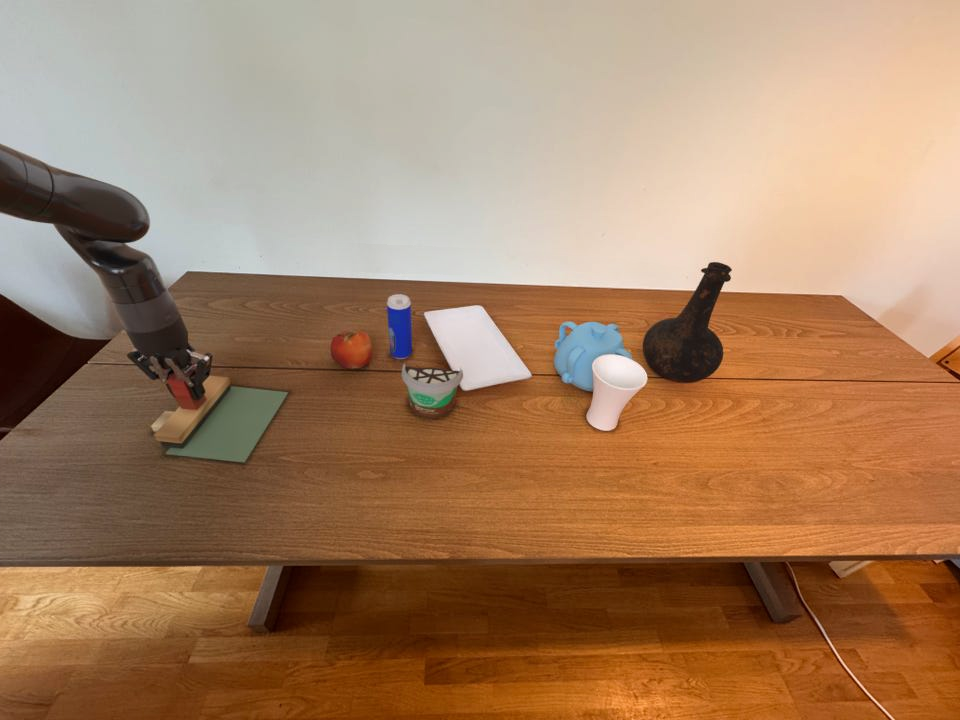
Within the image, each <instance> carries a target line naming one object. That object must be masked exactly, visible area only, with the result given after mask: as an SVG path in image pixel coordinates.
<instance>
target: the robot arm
mask: <svg viewBox="0 0 960 720" xmlns="http://www.w3.org/2000/svg"><path fill="white" fill-rule="evenodd" d="M0 214H2V215H4V216H5V215H6V216H10V217H13V218H16V219H20V220H23V221H27V222H35V223H41V224H51V225H53V227H54V228H55V230H56V231H57V232H58V234H59V235H60V236H61V237H62V239H63V241H65V243H67V244H68V246H69V247H70V248H71V249H72V250H73V251H74V252H75V253H76V254H77V255H78V256H79V257H80V258H81V260H82V261H83V262H84V263H85V264H87V266H88V267H89V268H90V269H91V270H92V271H93V272H94V273H95V274H96V275H97V277H98V278H99V280H100V283H101V285H102V286H103V288H104V290H105V292H106V294H107V295H108V297H109V299H110V301H111V303H112V307H113V309H114V312H115V314H116V316H117V318H118V320H119V322H120V323H121V325H122V327H123V329H124V331H125V332H126V333H125V334H127V336H128V338H129V340H130V342H131V344H132V345H133V347H134V348H133V349H132V350H131V351H129V352H128V353H127V354H126V357H127V358H128V359H129V360H130V361H131V362H132V363H133V364H134V365H135V366H136V367H137V368H138V369H139V370H140V371H142V373H144V374H145V375H146V376H147V377H148V378H149V379H150V380H152V381H156V380H159V381H160V382H161V383H162V384H164V385H165V386H166V388H167V390H168V392H169V393H170V394H171V396H172V397H173V398H174V399H176V397H175V395H174V394H173V392H172V390H171V388H170V386H169V384H168V382H167V380H168V379H169V378H170V377H171V376H172V375H173V374H174V373H176V375H177V376H178V377H182V379H183V380H184V381H185V383H186V384H187V385H188V386H187V387H188V389H189V391H190V393H191V395H192V397H193V399H194V400H200V399H201V398H202V396H203V395H204V394H205V392H206V391H205V389H204V386H203V382H204V381H205V380H206V379H207V378H208V377H209V376H210V375H211V370H212V363H213V354H211V353H210V352H205V353H204V354H201V353H199V352H197V351H196V350H195V348H194V347H193V345H191V344H190V343H189V331H188V328H187V327H186V325H185V322H184V320H183V318H182V315H181V313H180V311H179V309H178V306H177V304H176V301H175V299H174V298H173V296H172V294H171V292H169V290H168V288H167V285H166V284H165V282H164V279H163V277H162V274H161V272H160V271H159V268H158V266H157V264H156V262H155V260H154V258H153V257H152V256H151V255H150V254H148V253H146V252H145V251H142V250H139V249H137V248H134V247H132V246H130V245H128V244H132V243H134V242H135V243H136V242H137V241H139V240H141V239H142V238H143V237H145V236H146V235H147V233H148V232H149V230H150V227H151V218H150V214H149V212H148V209H147V207H146V206H145V204H144V203H143V202H142V201H141V200H140V199H139V198H138V197H137V196H135V195H134V194H133V193H131V192H129V191H128V190H126V189H124V188H122V187H119V186H116V185H114V184H111V183H108V182H105V181H102V180H99V179H96V178H92V177H89V176H85V175H83V174H79V173H76V172H72V171H68V170H65V169H62V168H58V167H55V166H53V165H51V164H48V163H47V162H44V161H42V160H40V159H38V158H36V157H33V156H31V155H29V154H26V153H25V152H22V151H19V150H17V149H14V148H12V147H10V146H7V145H5V144H3V143H0ZM150 367H153V369H154V370H152V369H151V368H150ZM190 373H191V374H192V377H190Z"/></svg>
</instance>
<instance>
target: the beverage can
mask: <svg viewBox="0 0 960 720" xmlns="http://www.w3.org/2000/svg"><path fill="white" fill-rule="evenodd" d="M386 312H387V313H386V314H387V325H388V340H389V353H390V355H391V356H392V357H393V358H394V359H397V360H405V359H408V358H409V357H410V356H411V355H412V353H413V338H412V336H413V335H412V333H413V332H412V301H411V299H410V297H409V296H407V295H405V294H401V293H397V294H392V295H390V296H388V298H387V301H386Z"/></svg>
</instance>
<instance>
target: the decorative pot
mask: <svg viewBox="0 0 960 720" xmlns="http://www.w3.org/2000/svg"><path fill="white" fill-rule="evenodd" d="M566 328H569V329H570V330H572V331H570V332H569V333H568V335H567V336H566ZM558 337H559V338H558V339H556V340H555V341H554V344H553V345H554V348H555V349H556V353H555V354H554V358H553V366H554V368H555V370H556V373H557V374H558V375H559V376H560V377H561V381H562V382H563V383H564V384H571V385H572V386H574V387H575V388H579V389H580V390H582V391H586V392H593V390H594V385H593V370H592V364H593V362H594V360H595V359H596V358H598V357H600V356H602V355H607V354H615V355H620V356H624V357H627V358H629V359H631V360H633V361H634V358H633V355H632V354H631V353H630V352H629V351H628V350H626V349H625V344H624V339H623V336H622V334H621V333H620V328H619V326H618V325H617V324H615V323H609V324H608V325H605V324H604V323H601V322H597V321H587V322H583V323H581V324H576V322H574V321H565V322H562V324H561V325H560V326H559V329H558Z"/></svg>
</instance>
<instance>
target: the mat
mask: <svg viewBox="0 0 960 720" xmlns="http://www.w3.org/2000/svg"><path fill="white" fill-rule="evenodd" d="M230 386H231V389H230V390H229V391H228V393H227V394H226V395H225V396H224V398H223V399H222V400H221V401H220V403H219V404H218V405H217V406H216V408H215V409H214V410H213V411H212V413H211V414H210V415H209V416H208V418H207V419H206V420H205V421H204V423H203V424H202V425H201V426H200V428H199V429H198V430H197V431H196V433H195V434H194V435H193V436H192V438H191V439H190V440H189V441H188V443H187V444H186V445H185V446H184V448H183V449H181V448H172V447H169V448H168V450H166V452H165V455H168V456H169V455H170V456H180V457H188V458H196V459H205V460H206V459H207V460H216V461H225V462H234V463H243V464H244V463H246V461H247V460H248V458H249V457H250V455H251V454H252V452H253V451H254V449H255V447H256V446H257V444H258V443H259V441H260V440H261V438H262V437H263V434H264V433H265V432H266V430H267V428H268V426H269V425H270V423H271V422H272V420H273V418H274V417H275V415H277V412H278V411H279V409H280V407H281V406H282V404H283V402H285V399H286V398H287V396H288V395H289V391H279V390H272V389H271V390H270V389H261V388H251V387H243V386H232V385H230Z"/></svg>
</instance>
